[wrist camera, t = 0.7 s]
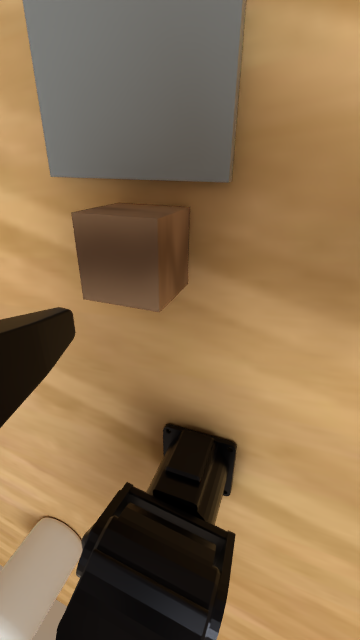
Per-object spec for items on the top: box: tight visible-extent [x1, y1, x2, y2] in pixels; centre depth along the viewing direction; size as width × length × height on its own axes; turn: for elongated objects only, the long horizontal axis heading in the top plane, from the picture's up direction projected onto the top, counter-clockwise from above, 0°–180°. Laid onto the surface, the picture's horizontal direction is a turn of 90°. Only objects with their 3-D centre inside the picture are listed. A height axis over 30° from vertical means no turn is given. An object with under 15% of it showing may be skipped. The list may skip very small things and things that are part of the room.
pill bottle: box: [0, 517, 83, 640], centre depth 39 cm, size 8×8×15 cm
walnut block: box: [71, 203, 190, 312], centre depth 19 cm, size 5×5×5 cm
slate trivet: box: [23, 0, 246, 182], centre depth 17 cm, size 12×12×1 cm
